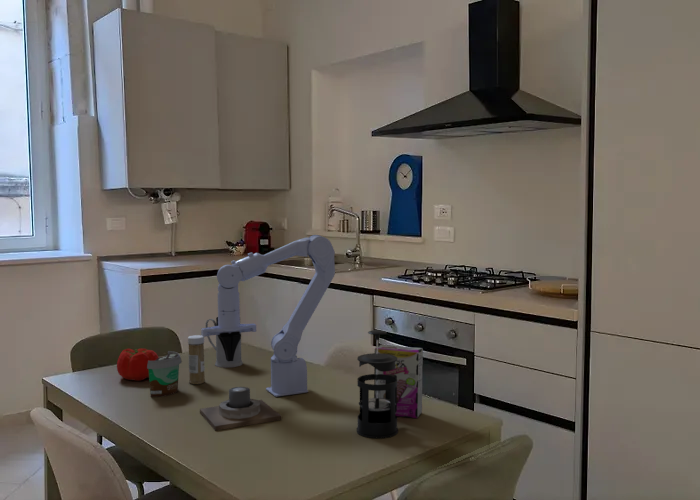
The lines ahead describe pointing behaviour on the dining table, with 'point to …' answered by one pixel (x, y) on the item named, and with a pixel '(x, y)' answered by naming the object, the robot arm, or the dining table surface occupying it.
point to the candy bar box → (405, 379)
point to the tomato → (135, 363)
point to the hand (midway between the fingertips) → (229, 360)
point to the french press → (377, 411)
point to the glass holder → (220, 352)
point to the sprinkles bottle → (196, 359)
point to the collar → (239, 415)
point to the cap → (239, 397)
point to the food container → (164, 374)
